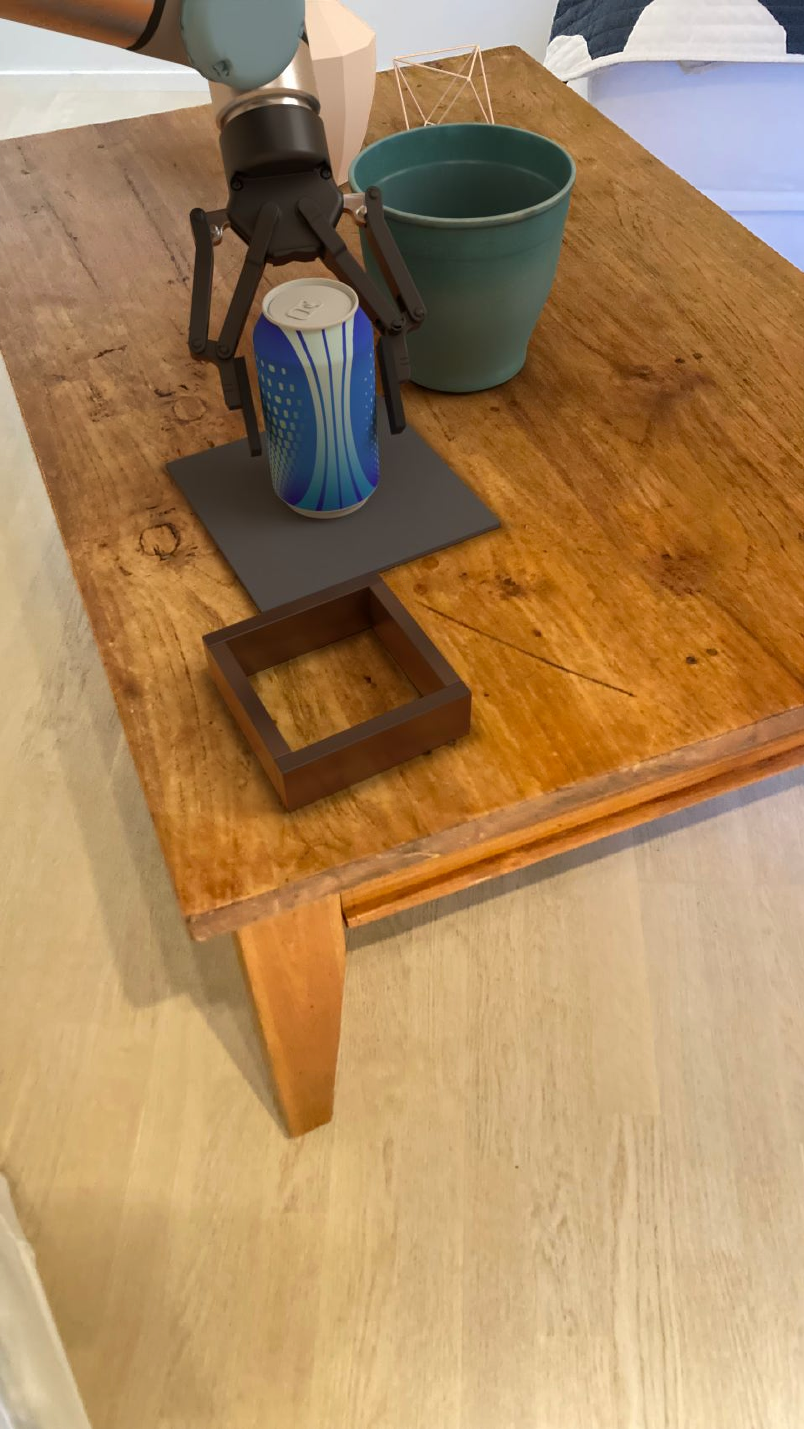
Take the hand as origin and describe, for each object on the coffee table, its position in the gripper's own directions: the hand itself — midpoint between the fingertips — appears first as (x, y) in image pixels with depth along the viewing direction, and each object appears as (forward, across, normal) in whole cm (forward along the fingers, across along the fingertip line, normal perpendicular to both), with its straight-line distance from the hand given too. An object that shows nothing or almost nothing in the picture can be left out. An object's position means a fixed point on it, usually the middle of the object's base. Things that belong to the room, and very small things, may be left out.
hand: (328, 441), depth 77 cm
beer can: (+3, 0, -7) cm, 8 cm away
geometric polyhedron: (-41, -27, -52) cm, 72 cm away
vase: (-38, -10, -49) cm, 63 cm away
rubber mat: (+3, 0, -7) cm, 8 cm away
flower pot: (-9, -15, -19) cm, 26 cm away
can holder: (+18, +4, +8) cm, 20 cm away
